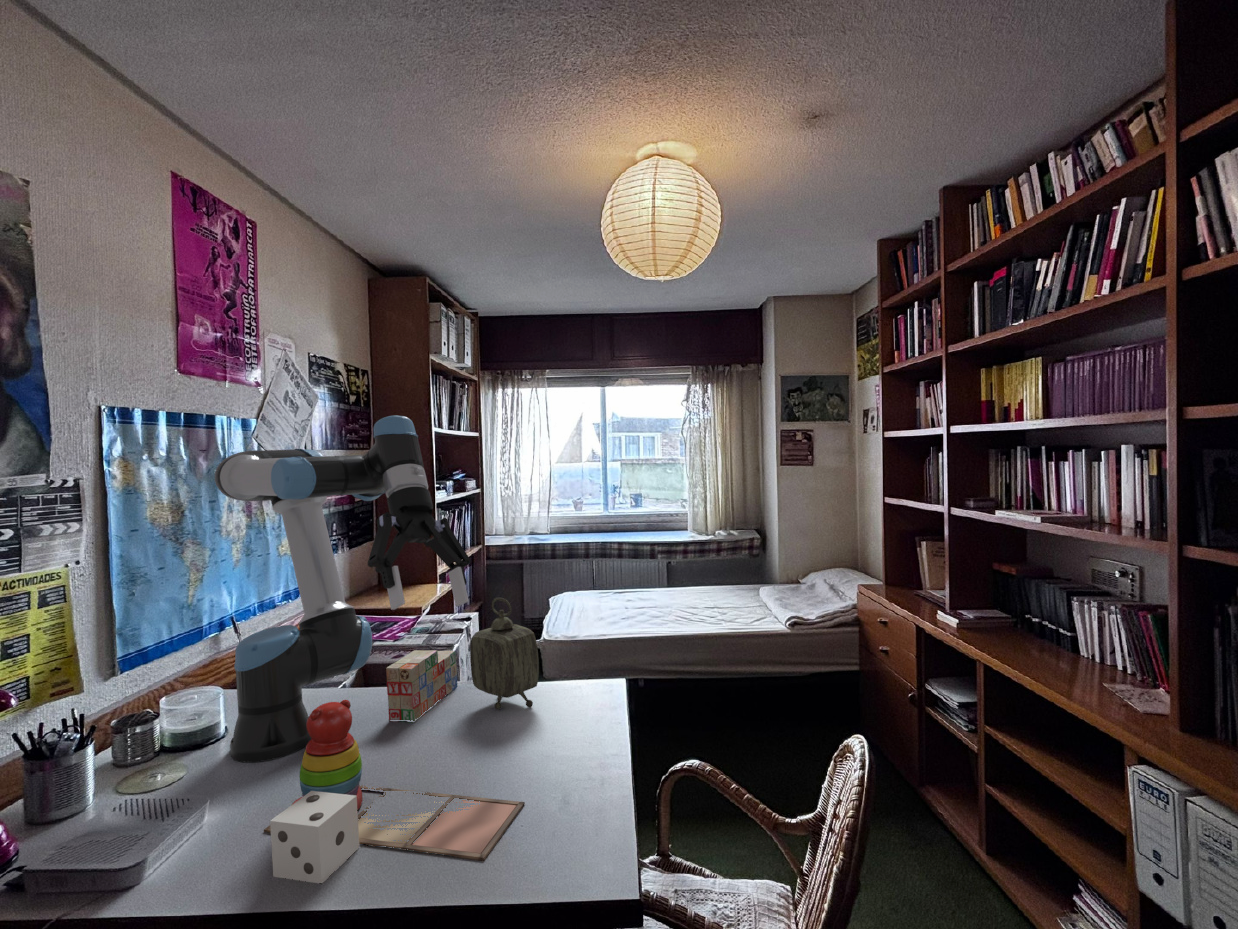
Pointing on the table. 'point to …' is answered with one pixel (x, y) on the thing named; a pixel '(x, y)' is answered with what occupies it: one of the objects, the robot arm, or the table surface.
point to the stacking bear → (331, 753)
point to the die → (314, 836)
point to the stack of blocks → (419, 682)
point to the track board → (445, 827)
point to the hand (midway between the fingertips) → (432, 605)
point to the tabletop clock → (504, 658)
